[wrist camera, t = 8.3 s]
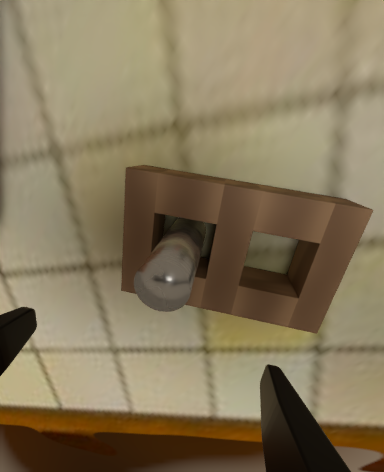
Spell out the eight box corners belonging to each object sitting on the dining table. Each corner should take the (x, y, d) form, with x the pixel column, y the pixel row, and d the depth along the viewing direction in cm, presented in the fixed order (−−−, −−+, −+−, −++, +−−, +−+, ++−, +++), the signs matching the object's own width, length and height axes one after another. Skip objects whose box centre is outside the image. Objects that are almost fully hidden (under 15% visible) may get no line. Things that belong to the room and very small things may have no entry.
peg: (209, 217, 19) (194, 267, 11) (203, 249, 20) (186, 316, 12) (175, 211, 19) (135, 255, 11) (171, 242, 21) (132, 304, 12)
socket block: (345, 199, 17) (373, 210, 14) (302, 305, 21) (316, 333, 18) (143, 164, 18) (125, 167, 15) (137, 270, 22) (121, 290, 19)
